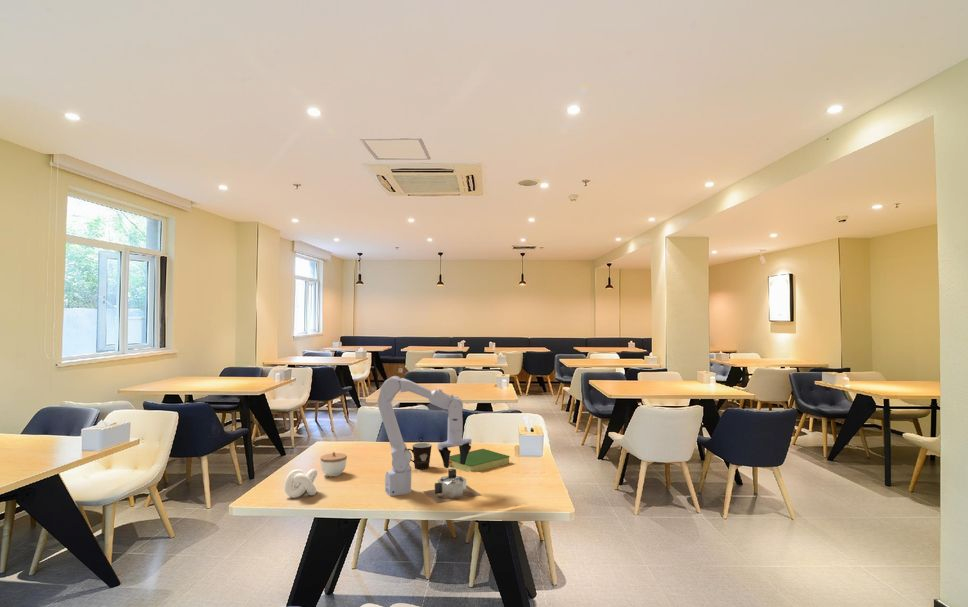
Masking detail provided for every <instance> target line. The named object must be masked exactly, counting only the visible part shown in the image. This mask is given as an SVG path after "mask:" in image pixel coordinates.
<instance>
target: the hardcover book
mask: <svg viewBox="0 0 968 607" xmlns="http://www.w3.org/2000/svg"><path fill="white" fill-rule="evenodd" d="M510 457H511V456H510V455H508V454H507V455H506V454H504V453H500V452H496V451H493V450H489V449H486V448H481V449H476V450H470V451H469V453H468V455H467V458H466V462H465V465H463V464H461V463H460V453H458V454H453V455H450V457H449V467H452V468H453V469H456V470H460V471H463V472H467V473H469V472H473V471H477V472H481V471H485V470H488V469H492V468H496V467H500V466H503V465H507V464H510Z"/></svg>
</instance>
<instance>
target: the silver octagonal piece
mask: <svg viewBox="0 0 968 607" xmlns="http://www.w3.org/2000/svg"><path fill="white" fill-rule="evenodd" d="M446 479H451V478H448V475H446V476H441V477H440V478H439V479H438V480H437V482H435V483H434V490H435V494H439V495H440V496H441V497H446V498H457V497H462V496H464V495H465V494H466V485H467V478H465V477H463V476H461V475H456V478H454V479H459V480H461V481H462V482H460V483H454V484H451V483H443V481H444V480H446Z"/></svg>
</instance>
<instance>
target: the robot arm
mask: <svg viewBox="0 0 968 607" xmlns="http://www.w3.org/2000/svg"><path fill="white" fill-rule="evenodd" d="M399 392H400V393H406V392H410V393H413V394H415V395H418V396H420V397H423V398H426V399H428V401H429V404H430V405H431V404H432V405H433V406H436V407H438V408H439V409H443V410H447V411H448V417H447V440H445V441H442V442H440V443H439V442H438V443H437V449H438V452H439V454H440V456H441V459H442V464H443V467H444V468H445V469H450V468H449V467H450V466H449V457H450V456H451V452H452V450H450V448H455V447H458V450H459V454H460V463H461V464H463V465H465V462H466V458H467V455H468V453H469V452H470V451H471V449H472V439H471V438H463V430H464V429H463V426H464V424H463V419H464V418H463V410H464V404H463V400H462V399H461V398H460V397H459V396H454V395H453V394H451V395H450V394H448V393H446V392H444V391H443V389H441V388H439V389H437V388H436V389H434V390H430V389H429V388H426V387H425V386H422V385H420V384H418V383H416V382H414V381H412V380H410V379H408V378H404V377H400V376H398V375H393V376H390V377H389V378H387V379H386V380H384V382H383V383H382V384H381V386H380V391H379V393H378V394H379V395H378V398H377V403H376V404H377V405H378V409H379V412H380V415H381V420H382V423H383V426H384V428H385V432H386V436H387V438H388V441H389V445H390V448H391V451H390V452H391V457H392V459H391V460H392V461H391V466H392V469H391V470H388V471H386V473H385V479H384V482H385V483H384V493H385V494H386V495H387V496H388V497H392V496H393V497H394V496H398V495H399V496H401V495H402V496H403V495H407V494H410V493H412V466H411V464H410V463H411V462H412V461H411V460H413V458H412V457H413V456H412V455H413V454H412V453H411V452H412V451H411V450H408V449H409V448H407V445H406V443H405V441H404V439H403V435H402V433H401V429H400V426H399V424H398V420H397V416H396V414H395V411H394V407H393V404H392V402H393V401H394V399H395V396H396V395H397V394H399Z"/></svg>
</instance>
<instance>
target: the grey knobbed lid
mask: <svg viewBox="0 0 968 607" xmlns="http://www.w3.org/2000/svg"><path fill="white" fill-rule="evenodd" d="M447 476H448V478H451V479H446V480H444V481H443V483H451V484H454V483H460V482H462V481H461V480H459V479H454V478H456V476H457V468H448V474H447Z"/></svg>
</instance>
